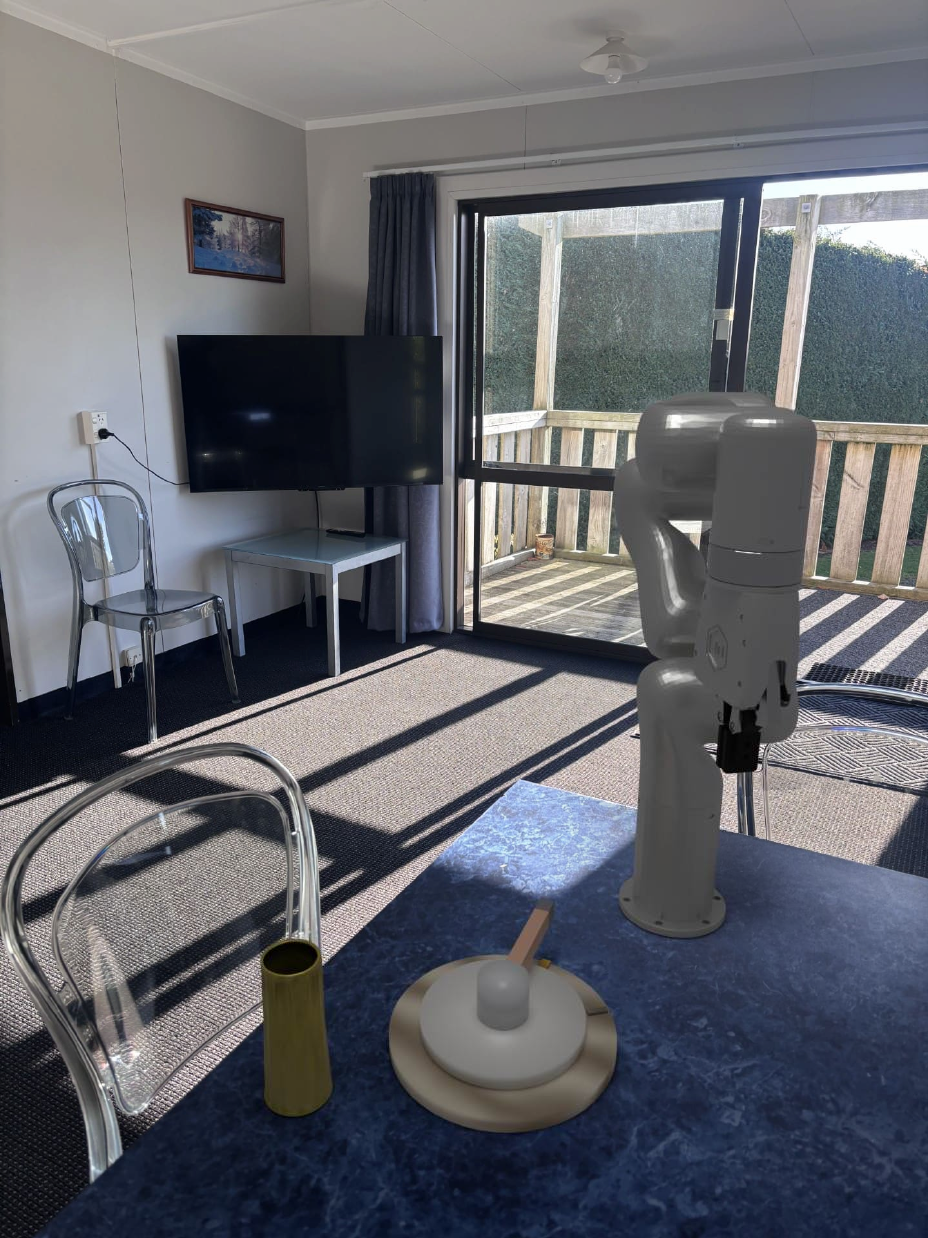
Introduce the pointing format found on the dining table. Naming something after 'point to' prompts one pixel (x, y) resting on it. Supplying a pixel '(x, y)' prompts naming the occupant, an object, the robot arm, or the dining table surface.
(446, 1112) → the dial base
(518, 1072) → the dial
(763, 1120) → the dining table surface
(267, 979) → the vase
